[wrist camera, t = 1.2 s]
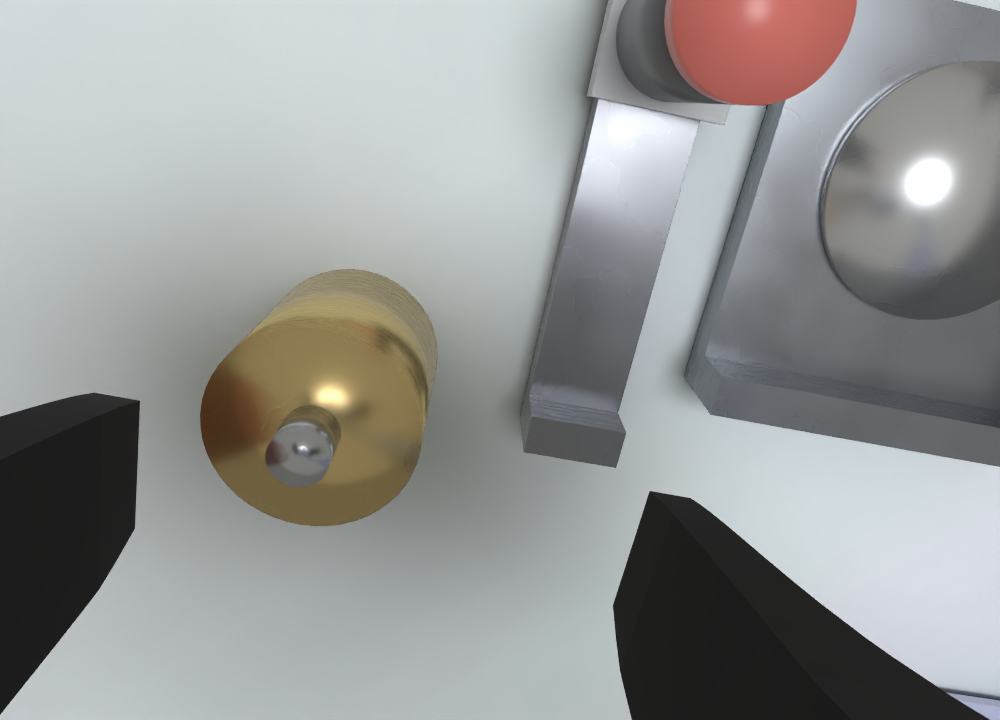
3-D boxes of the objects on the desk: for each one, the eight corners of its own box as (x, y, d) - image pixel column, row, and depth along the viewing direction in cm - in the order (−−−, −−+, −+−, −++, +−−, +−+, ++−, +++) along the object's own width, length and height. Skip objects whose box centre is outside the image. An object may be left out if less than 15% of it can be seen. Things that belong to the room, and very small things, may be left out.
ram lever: (713, 123, 16) (828, 137, 11) (586, 96, 16) (638, 96, 11) (755, -21, 15) (904, -86, 10) (620, -52, 15) (695, -137, 10)
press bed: (1018, 438, 21) (1086, 482, 18) (684, 376, 20) (710, 414, 17) (1200, 69, 17) (1312, 66, 15) (807, -23, 16) (860, -42, 14)
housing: (422, 438, 20) (397, 575, 15) (262, 411, 20) (171, 540, 14) (450, 286, 19) (433, 372, 13) (278, 253, 18) (182, 326, 13)
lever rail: (602, 429, 20) (615, 467, 18) (520, 415, 20) (523, 451, 18) (745, -91, 16) (784, -118, 14) (642, -116, 16) (665, -148, 14)
